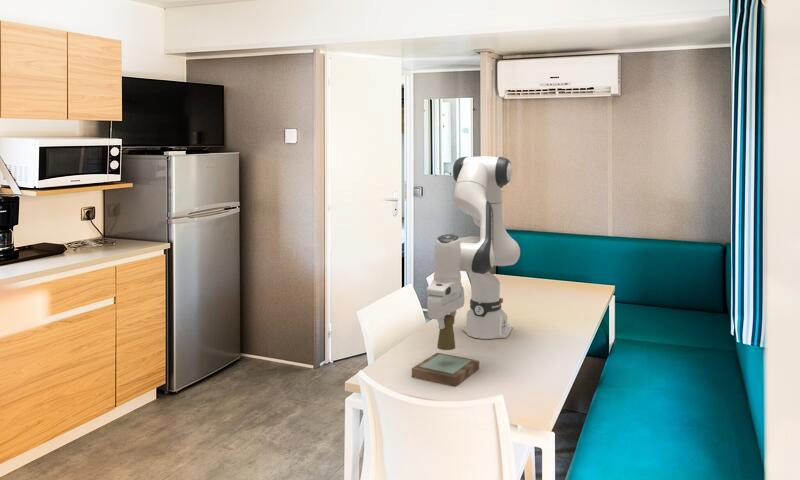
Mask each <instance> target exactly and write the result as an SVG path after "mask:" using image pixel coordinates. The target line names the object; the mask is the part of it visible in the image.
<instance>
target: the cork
mask: <svg viewBox="0 0 800 480" xmlns="http://www.w3.org/2000/svg"><path fill="white" fill-rule="evenodd" d="M455 321H456V320H455V318H454V317H453V316H452V315H449V314H448V315H446V316H444V323H446V325H445V328H444V329H439V331H438V340H437V347H436V348H437V349H439V350H442V351H452V350H455V349H456V340H455V331H454V324H455Z"/></svg>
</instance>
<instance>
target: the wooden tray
mask: <svg viewBox="0 0 800 480" xmlns="http://www.w3.org/2000/svg"><path fill="white" fill-rule="evenodd" d="M479 369H480V360H477V359H473V358H468V357H463V356H462V357H461V356H457V355H453V354H447V353H442V352H436V353H433V354H432V355H431V356H429V357H427V358H426V359H424V360H422V361H421V362H419V363H418V364H416V365H414V366H413V367H411V378H415V379H420V380H423V381H429V382H433V383H438V384H441V385H442V384H443V385H447V386H452V387H458V386H459V385H460V384H461V383H463V382H464V381H466V380H467V379H468V378H470V376H472V375H473V374H474V373H476V372H477V371H478V370H479Z"/></svg>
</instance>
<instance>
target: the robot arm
mask: <svg viewBox="0 0 800 480" xmlns="http://www.w3.org/2000/svg"><path fill="white" fill-rule="evenodd" d="M512 175H513V167H512V163H511V161H510V160H509V158H507V157H502V156H499V157H498V156H490V155H489V156H488V155H480V156H470V157H469V156H462V157H458V158H457V159H456V160H455V161H454V163H453V167H452V176H453V180H454V181H455V182H456V183H455V186H454V191H453V202H454V204H455V205H456V207H457V208H458V209H459V210H460V211H461V212H462V213H464V214H466V215H468V216H471V217H472V220H473V222H474V224H475V225H476V226H477V227H479V228H480V231H479V232H480V233H479V234H480V236H471V235H470V236H465V237H464V236H463V237H459V236H458V235H456V234H453V233H452V234H451V233H450V234H442V235H440V236H438V237H437V238H436V240H435V245H434V246H435V247H434V253H433V255H434V256H433V264H434V273H433V280H432V281H431V283H430V284H429V285H428V286H427V287H426V294H427V295H428V296H427V303H426V308H427V309H426V310H427V311H426V312H427V316H428V318H429V319H432V320H436V321H437V323H438V329H439V330H440V329H444V328H445V325H446V323H444V316H446V315H448V314H449V315H452V316H453V317H454V319H455V318H456V315H457V310H460V309H461V308H463V307H464V305H465V290H464V286H462V285H463V283H462V273H461V272H467V273H468V275H469V281H470V287H471V288H470V289H471V290H470V291H471V293H470V294H471V295H470V296H471V297H470V299H469V308H470V309H468V310H467V312H466V320H465V327H462V332H465V334H466V335H467V336H469V337H471V338H474V339H475V338H476V339H481V340H491V339H504V338H505V339H507V338H508V337H509V335H510V333H511V332H512V330H513V328H514V326H513V324H509V323H508V314H507V313H506V312H505V311H504V310H503V309H502V303H503V302H504V298H503V297H500V294H501V291H500V290H501V287H500V286H501V283H500V280H499V278H498V277H497V276H496V275H494V273H491V272H490V271H491V270H492V269H493V268H494V266H495V267H506V266H507V267H508V266H512V265H515V264H516V263H518V260H519V259H520V256H521V248H520V246H519V244H518V242H517V241H516V240H515V239H513V237H512V236H511V235H509V233H508V232H507V230H506V228H505V226H504V221H503V191H502V188H504V186H506V185H508V183H510V181H511V179H512Z"/></svg>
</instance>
